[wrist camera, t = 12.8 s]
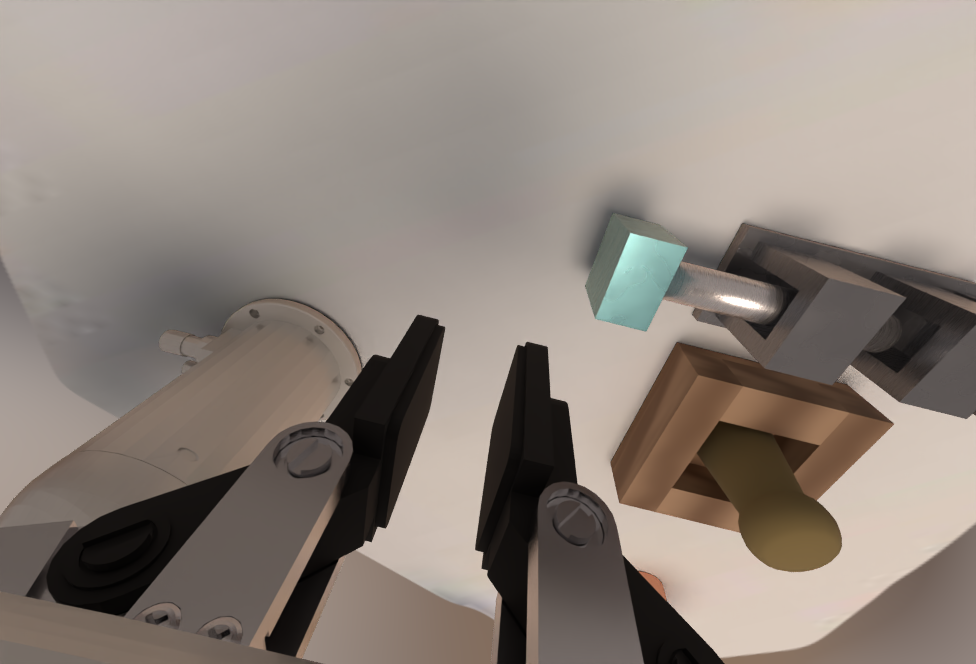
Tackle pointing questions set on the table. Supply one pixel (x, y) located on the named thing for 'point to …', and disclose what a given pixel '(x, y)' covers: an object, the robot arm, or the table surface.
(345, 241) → the table surface
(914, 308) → the shaft bracket
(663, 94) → the table surface
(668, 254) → the steel shaft
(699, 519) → the walnut holder
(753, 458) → the olive brown pear shape
